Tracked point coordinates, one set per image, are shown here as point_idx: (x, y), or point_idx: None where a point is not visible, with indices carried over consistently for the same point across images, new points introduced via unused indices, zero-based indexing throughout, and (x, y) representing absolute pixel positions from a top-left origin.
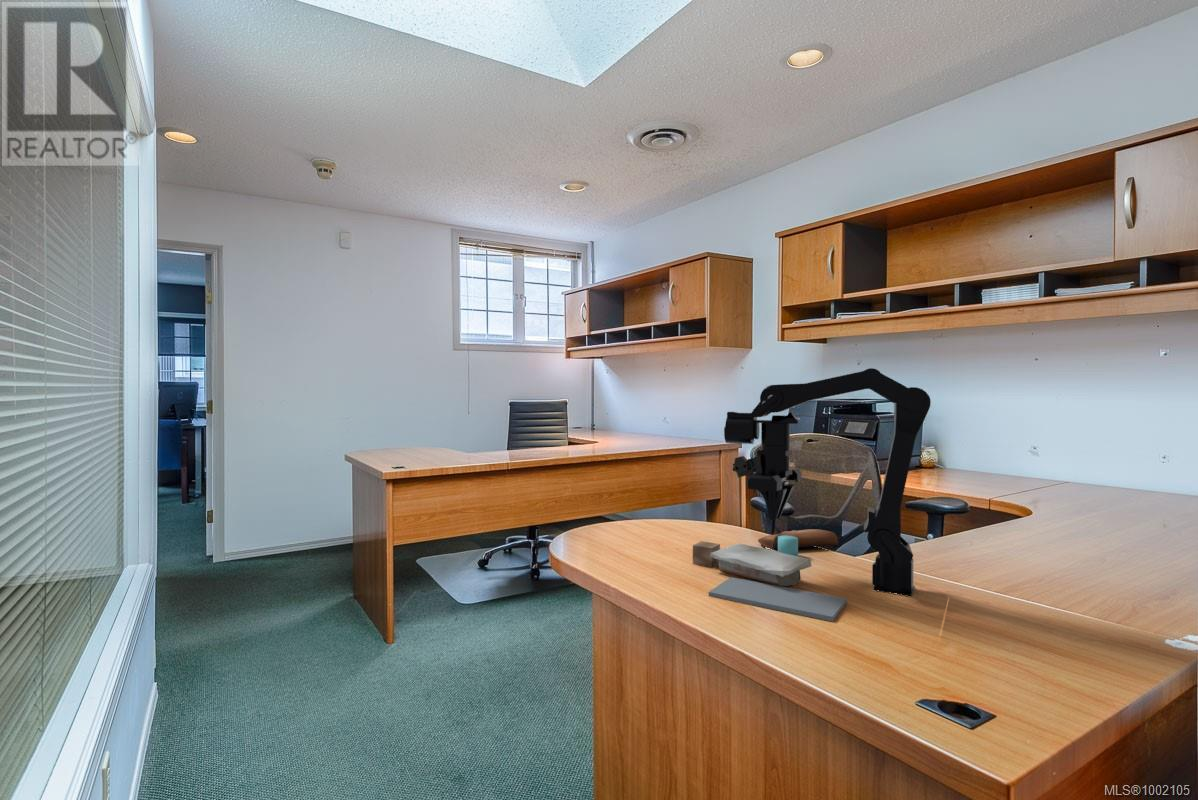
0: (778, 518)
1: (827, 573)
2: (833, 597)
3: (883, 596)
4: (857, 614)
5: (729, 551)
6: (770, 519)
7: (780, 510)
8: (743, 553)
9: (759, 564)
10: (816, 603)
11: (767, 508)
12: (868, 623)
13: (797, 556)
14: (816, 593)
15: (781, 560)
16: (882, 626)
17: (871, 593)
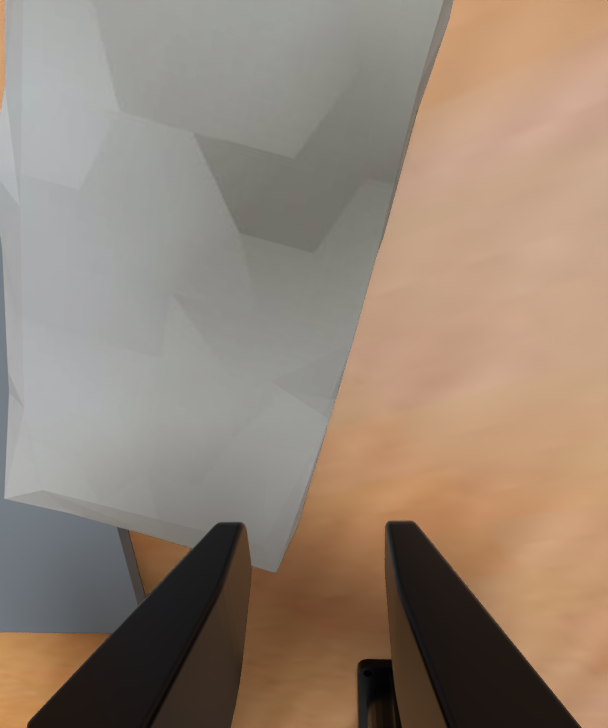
0: (386, 570)
1: (514, 501)
2: (118, 602)
3: (309, 685)
4: (68, 653)
5: (112, 8)
6: (218, 527)
7: (402, 705)
8: (135, 163)
9: (13, 356)
10: (5, 575)
11: (90, 663)
12: (20, 680)
13: (296, 507)
14: (113, 553)
15: (148, 455)
16: (29, 704)
17: (318, 658)
